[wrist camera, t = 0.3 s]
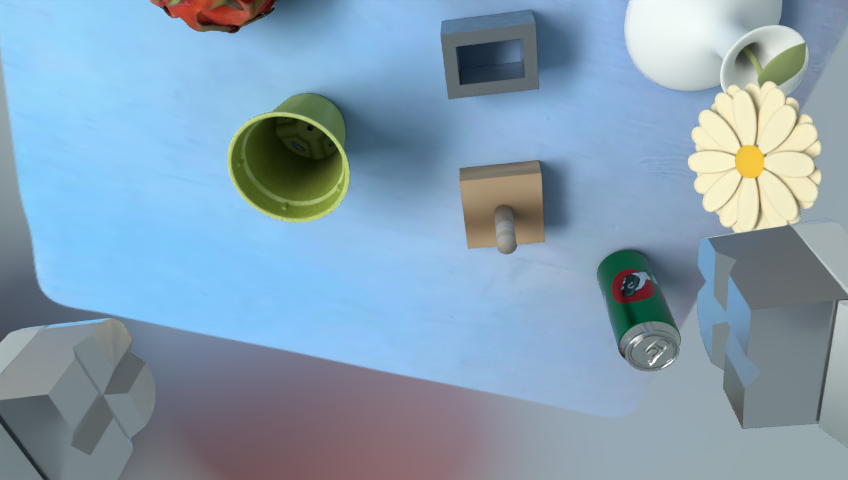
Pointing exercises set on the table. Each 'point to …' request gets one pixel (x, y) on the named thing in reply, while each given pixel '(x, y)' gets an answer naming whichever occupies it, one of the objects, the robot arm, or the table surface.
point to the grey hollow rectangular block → (491, 76)
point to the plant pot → (292, 160)
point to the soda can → (638, 311)
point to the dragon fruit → (216, 13)
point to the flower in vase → (735, 102)
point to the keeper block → (503, 205)
